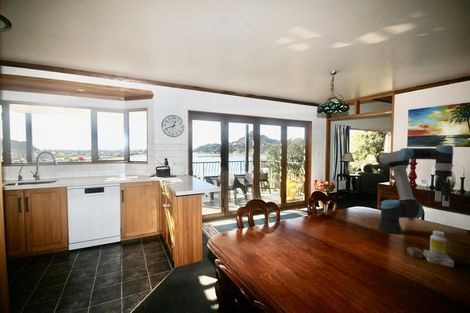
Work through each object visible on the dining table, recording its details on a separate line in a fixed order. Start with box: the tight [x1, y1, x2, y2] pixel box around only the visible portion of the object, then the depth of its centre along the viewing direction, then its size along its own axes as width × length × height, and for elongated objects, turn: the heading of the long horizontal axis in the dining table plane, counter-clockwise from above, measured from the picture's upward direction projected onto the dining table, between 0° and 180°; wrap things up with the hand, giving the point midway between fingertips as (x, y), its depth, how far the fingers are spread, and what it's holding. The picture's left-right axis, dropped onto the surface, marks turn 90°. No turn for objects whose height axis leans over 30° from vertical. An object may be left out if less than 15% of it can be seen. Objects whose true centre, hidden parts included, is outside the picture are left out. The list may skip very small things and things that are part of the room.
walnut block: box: [406, 246, 424, 259], centre depth 125 cm, size 5×5×4 cm
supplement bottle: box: [429, 230, 447, 257], centre depth 120 cm, size 7×7×13 cm
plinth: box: [423, 249, 455, 268], centre depth 120 cm, size 10×10×3 cm
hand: (441, 203), depth 133 cm, fingers open, 13 cm apart
